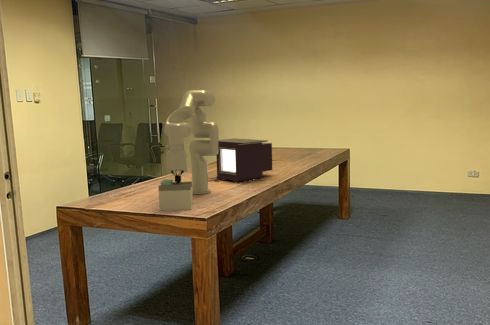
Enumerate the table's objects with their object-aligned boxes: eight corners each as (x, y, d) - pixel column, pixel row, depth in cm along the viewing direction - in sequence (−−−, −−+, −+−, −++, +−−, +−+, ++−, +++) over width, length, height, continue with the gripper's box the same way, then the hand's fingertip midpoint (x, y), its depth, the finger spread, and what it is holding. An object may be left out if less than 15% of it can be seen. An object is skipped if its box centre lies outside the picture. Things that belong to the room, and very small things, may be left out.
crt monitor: (244, 184, 299) (243, 143, 296) (210, 178, 324) (209, 140, 321) (280, 177, 323) (279, 139, 320) (246, 172, 348) (245, 137, 345)
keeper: (163, 182, 241) (163, 179, 241) (172, 182, 241) (172, 179, 241) (160, 185, 232) (160, 182, 232) (170, 185, 232) (170, 182, 232)
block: (163, 205, 244) (161, 182, 242) (193, 204, 245) (192, 181, 243) (159, 210, 232) (158, 186, 231) (191, 209, 233) (190, 185, 231)
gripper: (160, 149, 231) (162, 184, 233) (190, 148, 231) (191, 184, 233) (163, 147, 238) (164, 182, 240) (191, 146, 238) (193, 181, 241)
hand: (178, 183), depth 237 cm, fingers closed
